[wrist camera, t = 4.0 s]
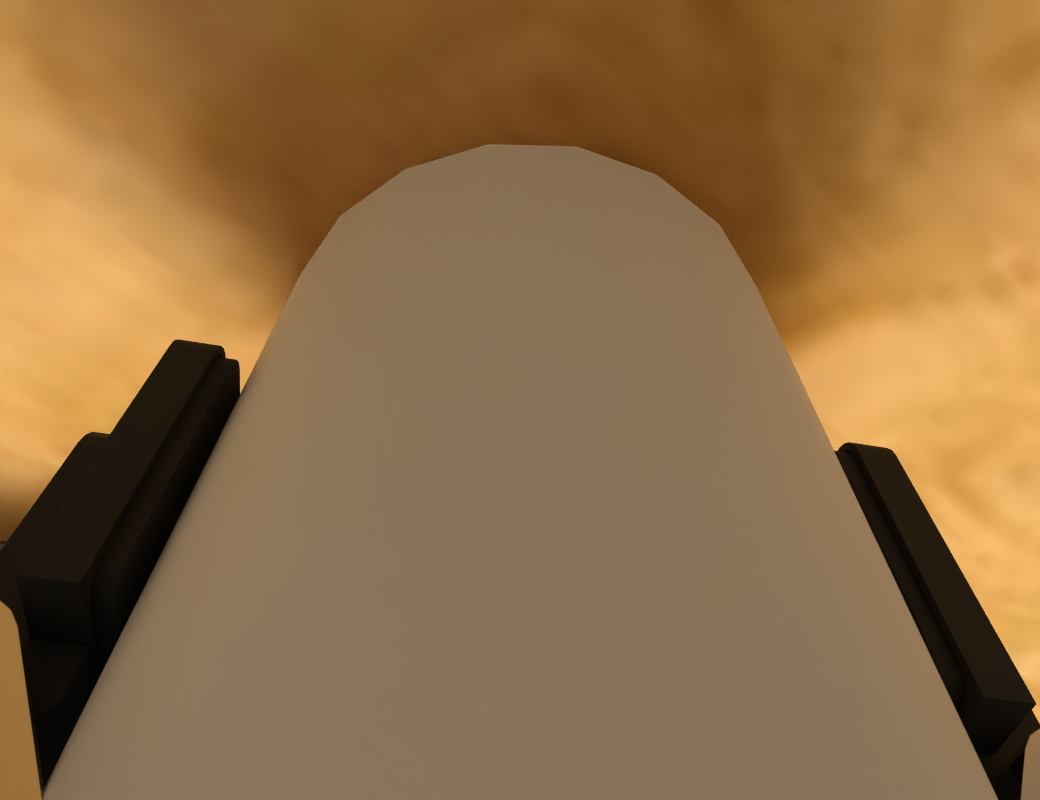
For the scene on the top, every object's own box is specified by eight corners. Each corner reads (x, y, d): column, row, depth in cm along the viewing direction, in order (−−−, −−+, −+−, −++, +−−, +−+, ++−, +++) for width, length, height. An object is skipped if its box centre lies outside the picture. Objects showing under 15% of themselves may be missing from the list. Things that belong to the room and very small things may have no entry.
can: (808, 435, 15) (1325, 1607, 5) (437, 564, 17) (307, 1601, 7) (658, 25, 11) (1498, 1470, 1) (203, 250, 13) (-751, 1532, 3)
